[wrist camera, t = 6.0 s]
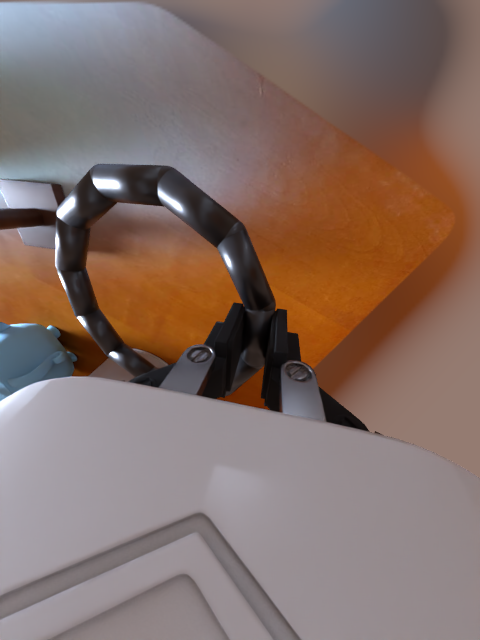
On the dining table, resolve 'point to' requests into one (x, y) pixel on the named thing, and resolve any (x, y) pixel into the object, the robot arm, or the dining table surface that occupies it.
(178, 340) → the dining table surface
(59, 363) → the teapot
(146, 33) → the dining table surface
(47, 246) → the peg
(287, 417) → the robot arm
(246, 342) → the ring
